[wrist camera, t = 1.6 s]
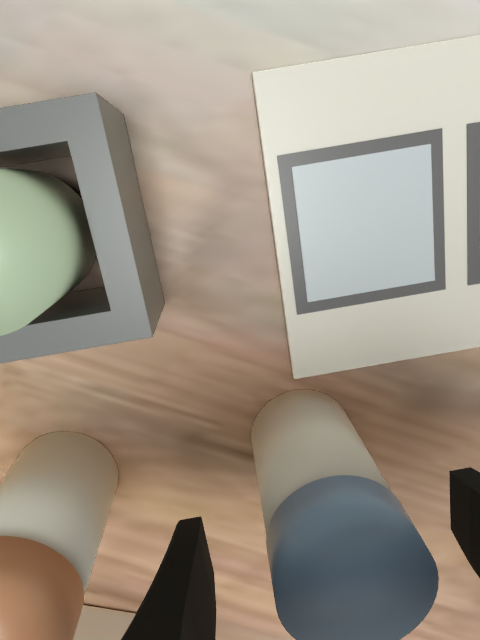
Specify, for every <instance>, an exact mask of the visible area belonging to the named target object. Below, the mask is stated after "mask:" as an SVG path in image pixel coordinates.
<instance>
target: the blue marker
mask: <svg viewBox="0 0 480 640" xmlns="http://www.w3.org/2000/svg"><path fill="white" fill-rule="evenodd" d="M251 443H252V449H253V455H254V461H255V467H256V474H257V480H258V486H259V492H260V498H261V504H262V511H263V517H264V523H265V529H266V535H267V536H266V545H267V553H268V559H269V566H270V572H271V578H272V585H273V591H274V597H275V604H276V609H277V613H278V617H279V619H280V621H281V623H282V625H283V626H284V628H285V629H286V631H287V632H288V633H289V634H290V635H291V636H292V637H293V638H295V639H296V640H399V639H401V638H403V637H404V636H406V635H407V634H408V633H410V632H411V631H412V630H413V629H414V628H416V627H417V626H418V625H419V624H420V622H421V621H422V620H423V619H424V618H425V616H426V615H427V614H428V612H429V611H430V609H431V607H432V605H433V603H434V600H435V598H436V595H437V590H438V580H439V578H438V570H437V567H436V563H435V561H434V559H433V557H432V555H431V553H430V552H429V550H428V548H427V547H426V545H425V543H424V542H423V540H422V538H421V536H420V535H419V533H418V531H417V530H416V528H415V526H414V525H413V523H412V521H411V520H410V518H409V516H408V515H407V513H406V511H405V510H404V508H403V506H402V505H401V503H400V501H399V500H398V499H397V497H396V496H395V495H394V494H393V493H392V491H391V490H390V488H389V486H388V484H387V483H386V481H385V479H384V478H383V476H382V474H381V473H380V471H379V469H378V467H377V466H376V464H375V462H374V461H373V459H372V457H371V456H370V454H369V452H368V450H367V449H366V447H365V445H364V444H363V442H362V440H361V439H360V437H359V435H358V433H357V432H356V430H355V428H354V427H353V425H352V423H351V422H350V420H349V418H348V416H347V415H346V413H345V411H344V410H343V408H342V407H341V406H340V404H339V403H338V402H337V401H336V400H334V399H333V398H332V397H330V396H328V395H326V394H324V393H322V392H319V391H315V390H308V389H300V390H293V391H289V392H286V393H283V394H281V395H279V396H277V397H275V398H273V399H272V400H270V401H269V402H268V403H267V404H266V405H265V406H264V407H263V408H262V409H261V410H260V412H259V413H258V414H257V416H256V418H255V420H254V423H253V426H252V431H251Z"/></svg>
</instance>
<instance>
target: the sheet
mask: <svg viewBox="0 0 480 640" xmlns="http://www.w3.org/2000/svg"><path fill="white" fill-rule="evenodd" d="M252 81H253V88H254V95H255V103H256V110H257V118H258V125H259V132H260V140H261V147H262V154H263V162H264V169H265V177H266V184H267V191H268V199H269V206H270V213H271V221H272V228H273V236H274V243H275V250H276V258H277V265H278V272H279V280H280V287H281V295H282V302H283V309H284V317H285V324H286V332H287V339H288V346H289V354H290V361H291V368H292V376H293V378H294V379H299V378H305V377H310V376H316V375H322V374H327V373H333V372H339V371H345V370H350V369H356V368H362V367H368V366H373V365H379V364H385V363H391V362H396V361H402V360H408V359H414V358H419V357H425V356H431V355H436V354H442V353H448V352H454V351H459V350H465V349H471V348H477V347H480V35H476V36H470V37H464V38H458V39H452V40H445V41H439V42H433V43H427V44H421V45H415V46H409V47H403V48H397V49H391V50H384V51H378V52H372V53H366V54H360V55H354V56H348V57H342V58H336V59H330V60H323V61H317V62H311V63H305V64H299V65H293V66H287V67H281V68H275V69H268V70H262V71H256V72H252Z"/></svg>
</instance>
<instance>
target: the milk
mask: <svg viewBox="0 0 480 640" xmlns="http://www.w3.org/2000/svg"><path fill="white" fill-rule="evenodd" d="M135 615H136V613H130V612H123V611H117V610H111V609H105V608H99V607H93V606H86V605H83V608H82V611H81V615H80V618H79V621H78V625H77V628H76V631H75V635H74V638H73V640H121V638H122V637H123V635H124V634H125V632H126V630H127V629H128V627H129V625H130V623H131V622H132V620H133V618H134V617H135Z"/></svg>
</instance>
